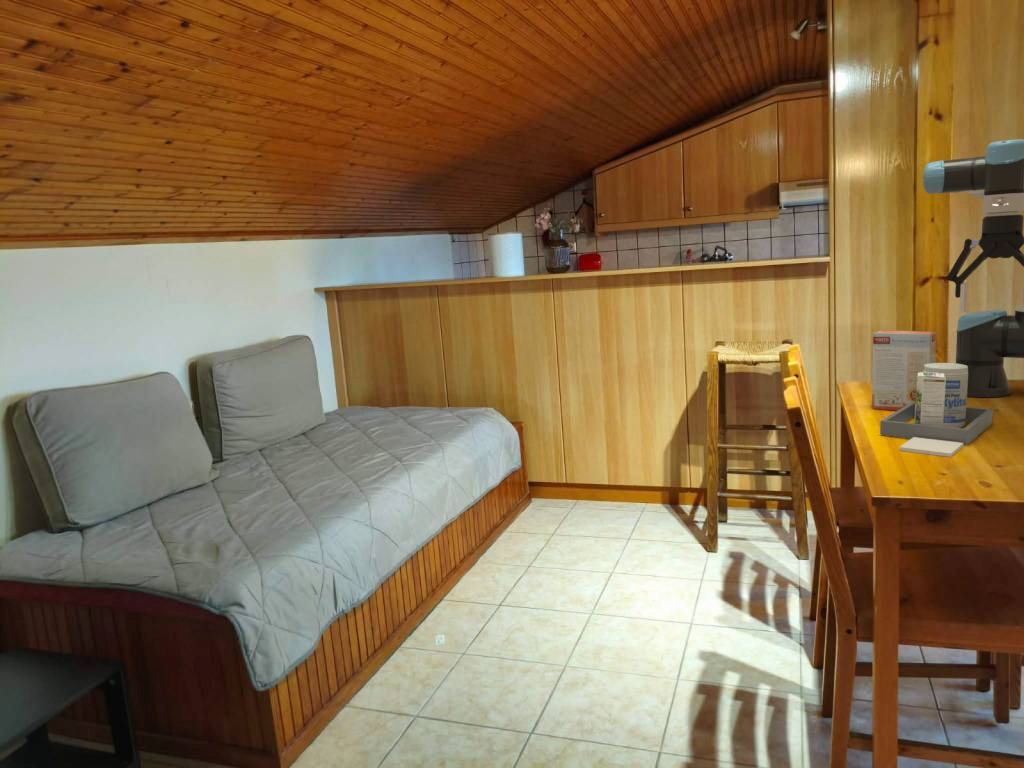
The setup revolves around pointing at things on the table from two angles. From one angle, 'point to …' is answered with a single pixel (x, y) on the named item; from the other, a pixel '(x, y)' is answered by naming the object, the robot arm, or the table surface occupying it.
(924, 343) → the cracker box
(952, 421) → the supplement tub
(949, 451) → the board
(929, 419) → the syrup box
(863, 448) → the table surface
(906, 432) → the bin
